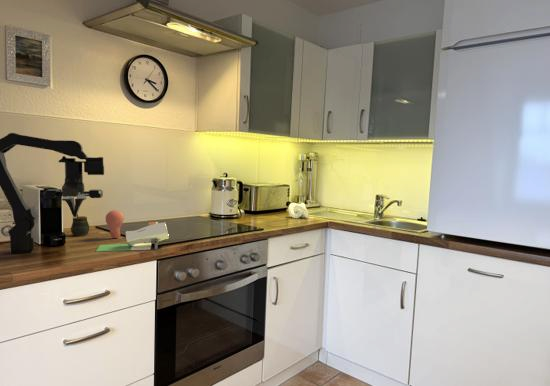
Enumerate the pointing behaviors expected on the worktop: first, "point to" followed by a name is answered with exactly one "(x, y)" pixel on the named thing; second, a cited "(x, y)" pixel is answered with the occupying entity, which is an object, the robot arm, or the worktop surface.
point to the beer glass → (147, 234)
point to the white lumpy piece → (297, 210)
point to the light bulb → (114, 222)
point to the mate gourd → (80, 226)
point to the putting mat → (125, 246)
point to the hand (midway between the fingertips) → (74, 216)
